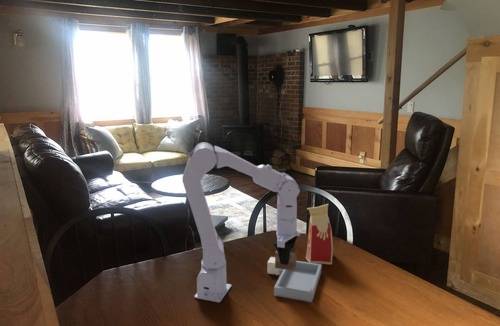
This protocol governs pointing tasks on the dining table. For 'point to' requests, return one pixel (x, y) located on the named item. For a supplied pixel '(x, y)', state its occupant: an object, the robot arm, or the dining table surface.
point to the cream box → (272, 267)
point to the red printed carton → (319, 236)
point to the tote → (299, 282)
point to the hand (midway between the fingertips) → (286, 260)
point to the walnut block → (291, 262)
